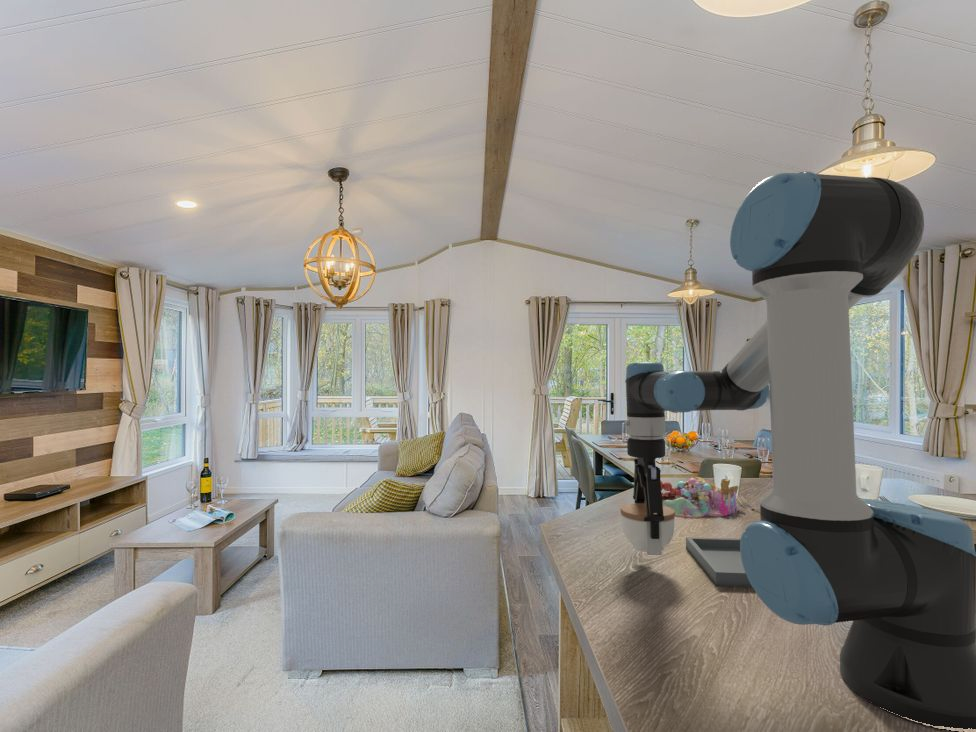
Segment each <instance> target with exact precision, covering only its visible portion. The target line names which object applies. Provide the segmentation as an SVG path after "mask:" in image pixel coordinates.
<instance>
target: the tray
mask: <svg viewBox="0 0 976 732" xmlns="http://www.w3.org/2000/svg"><path fill="white" fill-rule="evenodd" d="M740 541H741V538H732V537H728V538H727V537H726V538H725V537H698V536H696V537H693V536H692V537H691V536H685V549H686V550H687V551H688V553H689V554H690V555H691V557H693V559H694V560H695V561H696V563H698V565H699V566H700V567H701V568H702V570H703V572H704V573H705V574H706V575H707V576H708V577H709V579H710V580H711V581H712V583H714V585H715V586H721V587H742V586H749V587H748V588H753V587H752V586H751V584H750V582H749V580H748V577H747V575H746V573H745V570H744V567H743V563H742V559H741V553H740Z"/></svg>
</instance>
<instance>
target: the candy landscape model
mask: <svg viewBox="0 0 976 732" xmlns="http://www.w3.org/2000/svg"><path fill="white" fill-rule="evenodd" d="M660 482H661V493H662V504H663V506H667V507H669V508H672V509H673V510H674V511H675V517H679V518H689V519H694V518H695V519H699V518H703V517H727V516H732V515H733V514H737V513H738V512H739V511H738V505H737V494H738V489H739V485H735V486H731V487H729V485H730V483H731V480H730V479H728V478H722V479H721V482H720V488H719V487H717V486H716V485H715V484H714V483H712V482H709V481H706V480H705V479H704V478H702V477H700V476H693V477H690V478H689V479H688V480H687V481H683V480H680V481H678V482H677V483H676V484H675V485H674V487H673V486H672V483H671V482H668V481H665V482H663V481H662V480H661V479H660ZM663 490H664V491H666V492H662V491H663Z"/></svg>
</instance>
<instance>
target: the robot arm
mask: <svg viewBox="0 0 976 732" xmlns="http://www.w3.org/2000/svg"><path fill="white" fill-rule="evenodd" d="M754 186H755V187H753V188H752V189H751V190H750V191H749V192H748V193H747V195H746V196H745V197H744V199H743V202H742V203H741V205H740V207H739V208H738V209H737V211H736V214H735V216H734V219H733V222H732V226H731V231H730V239H729V245H730V253H731V256H732V258H733V260H734V261H735V263H736V264H737V265H738V266H739V267H740V268H742V269H744V270H746V271H748V272H751V278H752V290H753V291H754V292H755V293H756V294H758V296H760V297H762V298H763V300H764V301H765V302H766V321H764V322H763V324H762V325H761V326H760V327H759V328H758V330H756V331H755V332H754V334H753V335H752V336H751V337H750V338H749V339H748V341H747V342H746V343H745V344H744V345H743V347H741V348H740V350H738V352H737V353H736V354H735V355H734V356H733V357H732V358H731V360H730V361H729V362H727V364H725V366H724V367H723V368H722V369H720V370H683V369H682V370H676V369H675V370H667V371H665V369H664V365H663V364H662V362H656V361H655V362H654V361H653V362H651V361H650V362H649V361H648V362H647V361H646V362H631V363H629V364H628V365H627V366H626V372H625V373H626V374H625V375H626V376H625V381H624V382H625V394H626V395H625V397H626V399H625V400H626V420H625V421H624V422H623V424H624V426H626V432H627V433H626V434H627V435H628V436H629V437H628V438H627V439H626V447H627V450H626V451H627V452H626V453H627V455H628V456H629V457H631V458H634V459H633V462H634V474H633V493H632V494H633V495H632V497H633V500H634V503H646V511H647V517H644V521H645V522H646V551H647V552H646V555H647V556H663V554H662V553H663V552H662V551H663V550H662V545H661V521H664V515H663V504H662V493H663V492H662V491H661V482H660V480H661V468H660V467H659V466H657V465H656V460H657V459H661V458H664V457H665V456H666V440H665V438H663V437H665V436H666V416H665V411H666V412H670V413H674V414H678V413H680V414H681V413H691V412H693V411H695V412H697V411H747V410H750V409H751V410H754V409H758V408H761V407H762V406H764V405H765V404H766V402H767V397H768V396H769V404H770V405H769V406H770V407H769V408H770V411H769V413H770V437H771V456H772V457H771V465H772V466H771V467H772V489H771V490H770V491H769V492H768V493H767V494H766V495H764V496H763V497H762V498H760V501H759V502H760V503H759V507H760V510H759V511H760V520H756V521H754V522H752V523H750V524H748V526H746V528H745V529H744V531H743V532H742V533H741V536H740V537H741V538H740V539H741V541H740V553H741V559H742V563H743V567H744V570H745V573H746V575H747V577H748V580H749V582H750V584H751V586H752V587H751V588H753V589H754V591H755V593H756V595H757V596H758V598H759V599H760V600H761V602H762V603H763V604H764V605H765V606H766V607H767V608H768V609H769V610H770V611H771V612H772V613H774V614H775V615H776V616H778V617H779V618H780V619H782V620H784V621H785V622H789V623H791V624H795V625H801V626H802V625H804V626H805V625H807V626H808V625H819V626H823V627H825V626H831V625H833V624H835V623H836V624H837V623H846V622H851V625H850V627H849V630H848V632H847V635H846V638H845V641H844V643H843V646H842V647H841V650H840V652H839V653H840V654H839V673H840V676H841V678H842V679H843V682H845V684H847V686H848V687H849V688H850V689H851V690H853V691H854V692H855V693H856V694H857V695H859V696H860V697H861V696H862V697H861V698H863V699H864V698H865V699H864V700H866V699H867V700H868V701H867V700H866V701H867V702H869V701H870V702H869V703H871V702H872V703H874V704H876V705H877V706H876V705H875V706H876V707H878V706H879V707H881V708H884V709H886V710H888V711H890V712H893V713H895V714H898V715H900V716H902V717H907V718H909V719H912V720H915V721H918V722H922V723H926V724H930V725H933V726H944V727H950V728H951V727H953V728H963V729H968V728H970V729H971V728H972V729H976V549H975V548H976V547H975V539H974V531H973V529H972V528H971V525H969V524H968V523H967V522H965V521H964V520H963V519H960V518H958V516H957V517H956V516H953V515H950V514H947V513H945V512H940V511H937V510H934V509H933V510H932V509H928V508H924V507H920V506H914V505H911V504H904V503H900V502H893V501H888V500H879V499H872V498H871V499H870V498H859V496H858V495H857V475H856V474H857V473H856V452H855V449H856V448H855V429H854V428H855V427H854V426H855V425H854V404H853V401H854V400H853V381H852V380H853V378H852V376H853V375H852V360H851V359H852V357H851V355H852V354H851V333H850V332H851V331H850V329H851V328H850V310H851V309H852V308H853V307H854V306H855V305H856V304H857V303H858V302H859V301H860V300H861V299H863V298H872V297H874V296H877V295H878V294H880V293H881V292H882V291H883V290H885V288H887V286H888V285H890V284H891V283H892V282H893V281H894V280H895V279H896V278H897V277H898V276H899V275H900V274H901V273H902V271H904V269H905V268H906V267H907V266H908V265H909V263H910V261H911V260H912V258H913V257H914V256H915V254H916V252H917V251H918V248H919V247H920V244H921V242H922V238H923V234H924V231H925V218H924V217H925V216H924V211H923V208H922V205H921V204H920V201H919V199H918V198H917V197H916V195H915V194H914V193H913V192H912V191H911V190H910V189H909V188H908V187H906V186H905V185H903V184H901V183H899V182H897V181H894V180H891V179H888V178H883V177H878V176H877V177H874V176H871V177H870V176H869V177H865V176H864V177H863V176H862V177H860V176H848V175H833V174H825V173H824V174H821V173H814V172H812V171H801V172H781V173H777V174H773V175H770V176H768V177H766V178H764V179H763V180H762V181H760V182H758V184H756V185H754ZM654 513H657V514H654ZM872 703H871V704H872ZM874 704H873V705H874ZM879 707H878V708H879ZM881 708H880V709H881ZM890 712H889V713H890Z"/></svg>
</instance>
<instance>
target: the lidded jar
mask: <svg viewBox="0 0 976 732" xmlns="http://www.w3.org/2000/svg"><path fill="white" fill-rule="evenodd" d="M654 514H657V513H654ZM663 515H664V521H661V545H662V551H664V549H665V547H667V546H668V545H669V544H670V542H671V541H672V539H673V537H674V532H675V527H676V526H675V525H676V521H675V517H676V516H675V511H674V510H673V509H672V508H669V507H667V506H663ZM620 517H621V520H620V521H621V522H620V523H621V528H622V532H623V534H624V536H625V538H626V540H627V541H628V542H629V544H631V545H632V548H634V549H635V550H636V551H641V552H643V553H644V552H645V553H647V551H646V522H645V521H644V517H647V511H646V503H635V502H633V503H627V504H624V505H622V506H621V507H620Z"/></svg>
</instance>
